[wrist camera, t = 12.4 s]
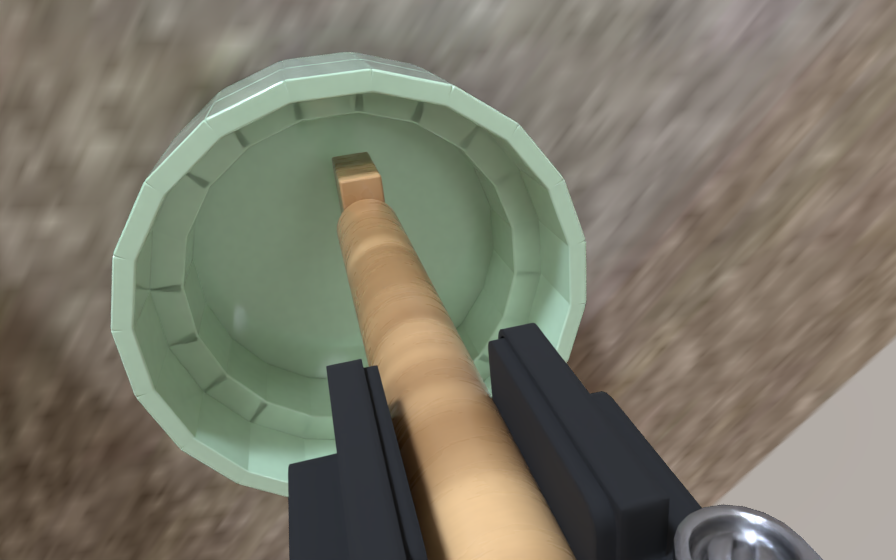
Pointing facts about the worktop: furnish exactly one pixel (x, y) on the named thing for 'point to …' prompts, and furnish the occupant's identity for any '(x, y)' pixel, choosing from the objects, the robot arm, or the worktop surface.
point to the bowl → (324, 250)
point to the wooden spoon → (436, 393)
